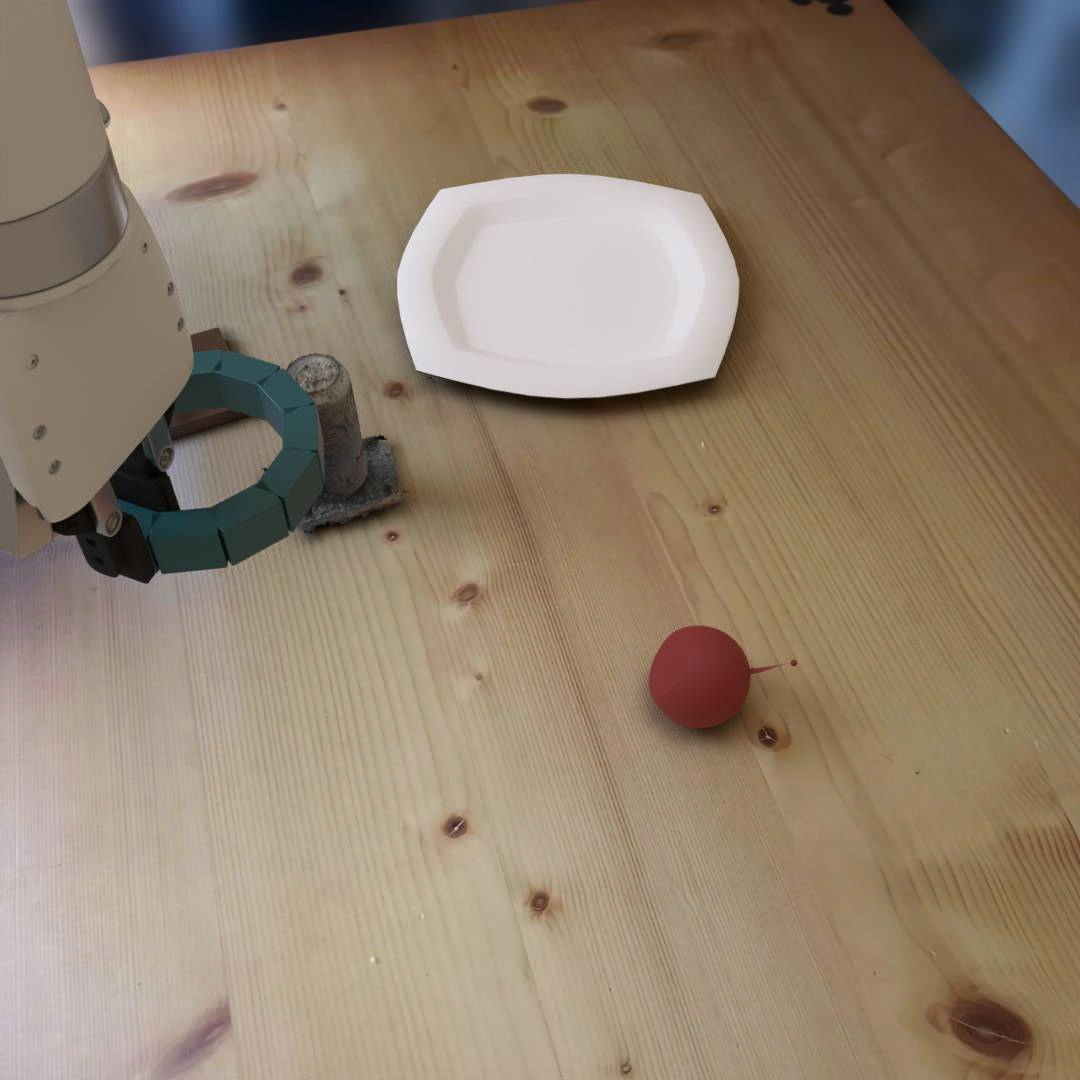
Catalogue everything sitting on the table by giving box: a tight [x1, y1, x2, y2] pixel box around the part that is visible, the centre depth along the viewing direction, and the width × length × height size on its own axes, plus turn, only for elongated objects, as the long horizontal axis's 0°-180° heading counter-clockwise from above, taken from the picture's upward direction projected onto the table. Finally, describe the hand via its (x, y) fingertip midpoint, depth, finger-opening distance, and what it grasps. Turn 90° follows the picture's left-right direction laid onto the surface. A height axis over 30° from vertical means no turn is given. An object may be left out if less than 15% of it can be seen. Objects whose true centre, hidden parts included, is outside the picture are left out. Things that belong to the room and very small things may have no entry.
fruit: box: [648, 624, 798, 729], centre depth 78 cm, size 6×6×8 cm
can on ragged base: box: [262, 352, 403, 535], centre depth 86 cm, size 9×8×12 cm
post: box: [169, 326, 250, 440], centre depth 92 cm, size 9×9×12 cm
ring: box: [117, 349, 325, 575], centre depth 60 cm, size 12×12×2 cm
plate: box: [396, 173, 740, 400], centre depth 103 cm, size 27×27×2 cm
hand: (138, 547), depth 58 cm, fingers closed on ring, 1 cm apart
